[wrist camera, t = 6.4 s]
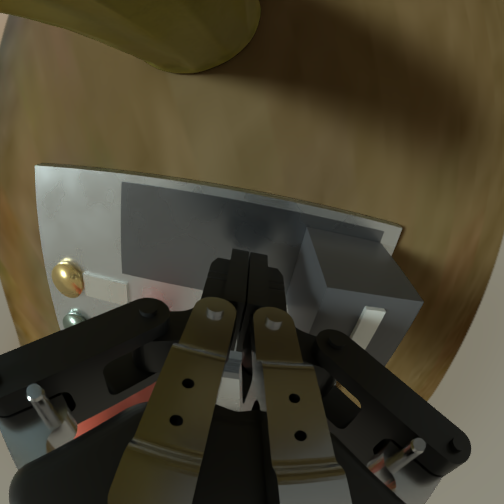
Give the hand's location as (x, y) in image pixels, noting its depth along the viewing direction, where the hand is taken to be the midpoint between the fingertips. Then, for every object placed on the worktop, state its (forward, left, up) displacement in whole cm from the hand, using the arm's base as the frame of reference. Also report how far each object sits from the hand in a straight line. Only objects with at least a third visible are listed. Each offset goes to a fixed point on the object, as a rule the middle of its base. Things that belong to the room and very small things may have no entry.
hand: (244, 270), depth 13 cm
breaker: (0, +5, -2) cm, 5 cm away
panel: (+7, -2, -3) cm, 8 cm away
